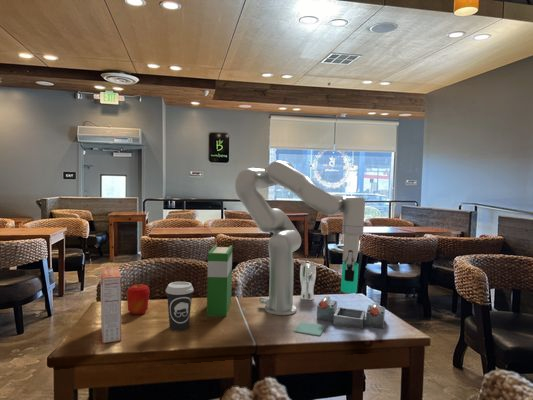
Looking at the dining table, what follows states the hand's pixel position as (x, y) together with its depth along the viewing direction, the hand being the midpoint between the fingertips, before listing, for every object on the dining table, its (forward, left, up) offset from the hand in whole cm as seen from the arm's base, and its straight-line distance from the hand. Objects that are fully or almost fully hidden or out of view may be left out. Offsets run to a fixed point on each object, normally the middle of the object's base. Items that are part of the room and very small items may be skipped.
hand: (349, 278), depth 142 cm
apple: (-76, -23, -17) cm, 81 cm away
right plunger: (+10, -2, -11) cm, 15 cm away
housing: (+1, +1, -16) cm, 16 cm away
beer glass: (-21, +22, -17) cm, 35 cm away
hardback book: (-50, -6, -17) cm, 53 cm away
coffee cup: (-54, -29, -17) cm, 63 cm away
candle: (0, 0, -5) cm, 5 cm away
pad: (-11, -13, -16) cm, 24 cm away
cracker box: (-71, -43, -17) cm, 85 cm away
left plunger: (-8, -2, -11) cm, 14 cm away
